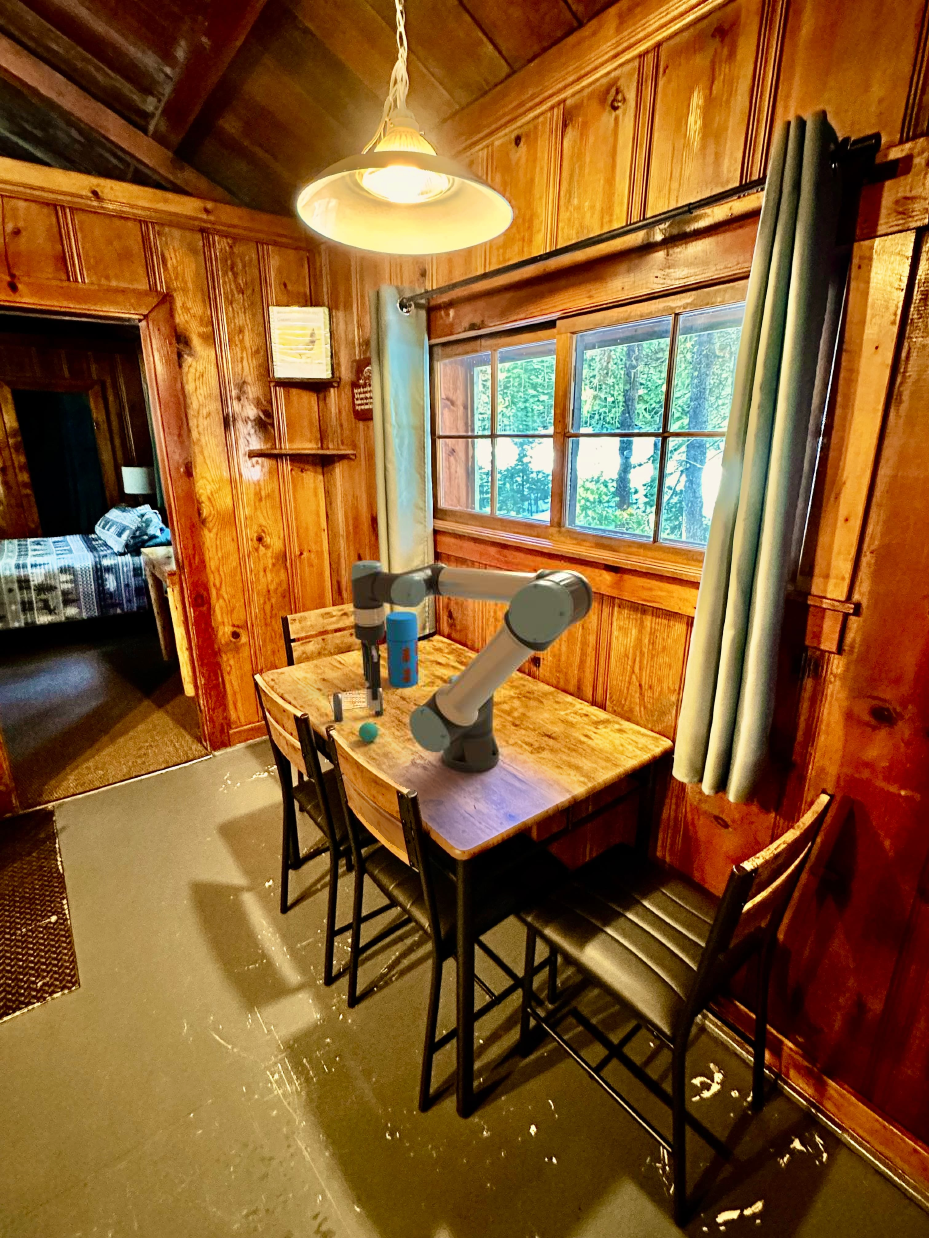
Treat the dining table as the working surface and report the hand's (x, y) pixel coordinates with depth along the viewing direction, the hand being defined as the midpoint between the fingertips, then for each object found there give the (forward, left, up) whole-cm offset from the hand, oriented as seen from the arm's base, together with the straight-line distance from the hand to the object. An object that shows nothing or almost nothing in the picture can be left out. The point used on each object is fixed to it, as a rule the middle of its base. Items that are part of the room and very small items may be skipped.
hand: (373, 707), depth 151 cm
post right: (+25, -6, -15) cm, 30 cm away
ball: (+9, 0, -12) cm, 15 cm away
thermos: (+48, -20, -15) cm, 54 cm away
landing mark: (+39, 0, -15) cm, 42 cm away
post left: (+25, +6, -15) cm, 30 cm away
